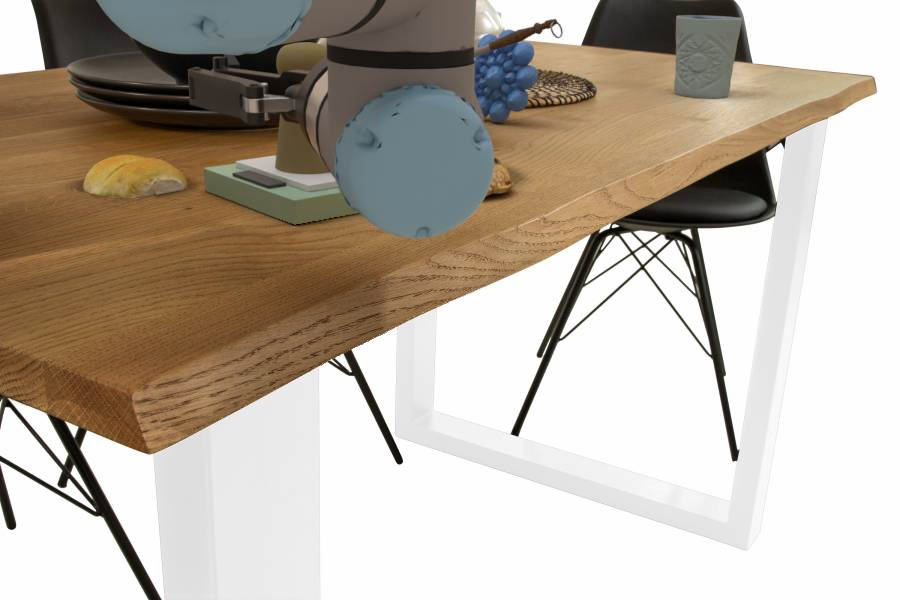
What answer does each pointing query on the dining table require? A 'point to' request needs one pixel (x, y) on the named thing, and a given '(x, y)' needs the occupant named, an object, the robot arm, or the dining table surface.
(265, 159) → the scale
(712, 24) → the grey embossed vase
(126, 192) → the bread roll
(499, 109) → the grapes
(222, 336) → the dining table surface
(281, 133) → the cork
